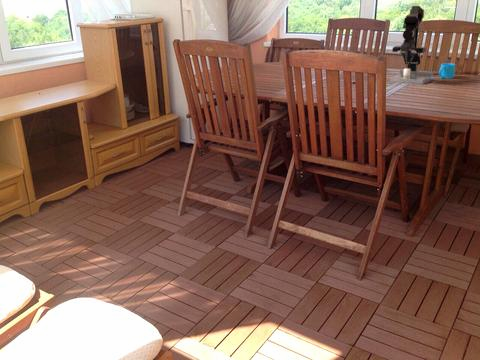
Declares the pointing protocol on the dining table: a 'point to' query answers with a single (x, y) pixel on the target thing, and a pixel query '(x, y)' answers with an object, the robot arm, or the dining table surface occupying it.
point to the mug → (447, 70)
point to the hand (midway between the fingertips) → (407, 63)
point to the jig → (413, 77)
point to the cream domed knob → (406, 72)
